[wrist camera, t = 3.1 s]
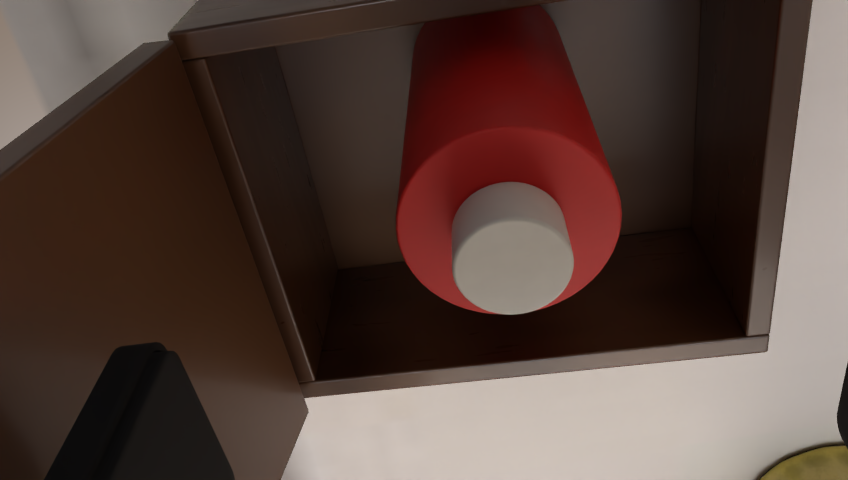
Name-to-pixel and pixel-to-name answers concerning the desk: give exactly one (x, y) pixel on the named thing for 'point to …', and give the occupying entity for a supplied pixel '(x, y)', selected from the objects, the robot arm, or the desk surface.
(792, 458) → the vase
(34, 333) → the lid
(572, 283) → the sauce bottle
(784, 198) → the chest
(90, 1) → the desk surface
